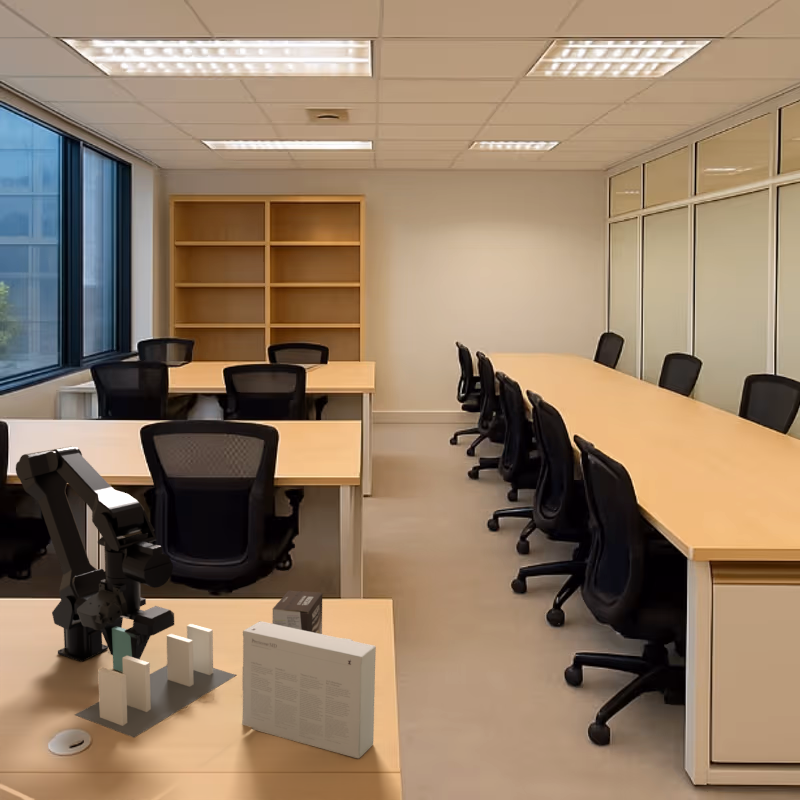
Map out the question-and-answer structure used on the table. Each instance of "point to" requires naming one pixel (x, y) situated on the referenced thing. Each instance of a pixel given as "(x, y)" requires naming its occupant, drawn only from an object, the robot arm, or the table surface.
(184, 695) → the mat
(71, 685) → the table surface
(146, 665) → the domino
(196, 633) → the domino
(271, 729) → the skincare box
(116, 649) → the teal tile
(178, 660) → the domino
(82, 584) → the robot arm
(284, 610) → the coffee box
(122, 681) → the domino
